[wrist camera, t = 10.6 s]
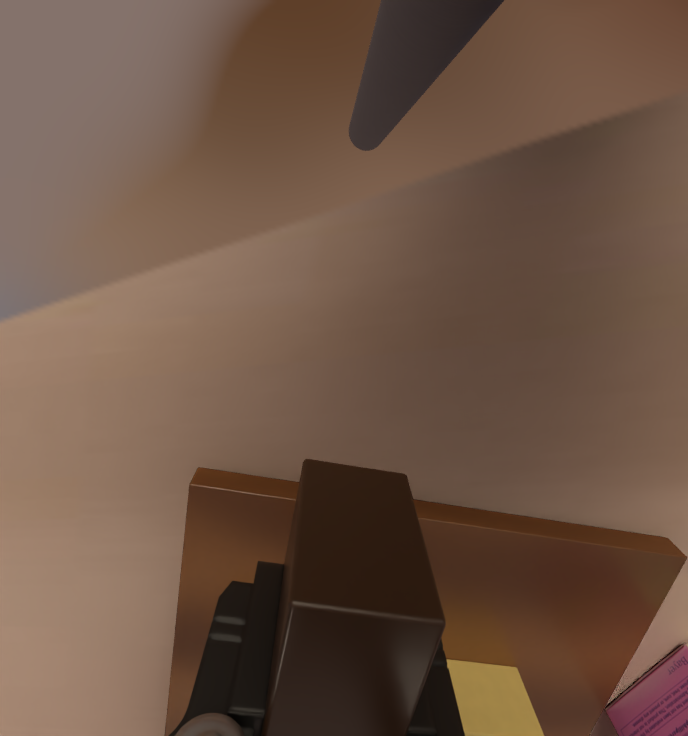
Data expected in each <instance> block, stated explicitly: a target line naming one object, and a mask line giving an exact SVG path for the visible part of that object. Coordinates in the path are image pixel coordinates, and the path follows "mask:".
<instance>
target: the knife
mask: <svg viewBox="0 0 688 736" xmlns="http://www.w3.org/2000/svg"><path fill="white" fill-rule="evenodd" d="M445 625H446V620H445V616H444V613H443V609H442V605H441V601H440V598H439V594H438V590H437V587H436V583H435V579H434V575H433V572H432V568H431V564H430V561H429V557H428V553H427V550H426V546H425V542H424V538H423V535H422V531H421V527H420V524H419V520H418V516H417V512H416V509H415V505H414V501H413V498H412V494H411V490H410V486H409V483H408V479H407V476H406V475H405V474H402V473H395V472H389V471H382V470H376V469H369V468H363V467H356V466H350V465H343V464H337V463H331V462H324V461H318V460H311V459H305V461H304V462H303V466H302V471H301V476H300V482H299V487H298V492H297V498H296V503H295V508H294V513H293V519H292V524H291V529H290V535H289V540H288V545H287V551H286V556H285V561H284V571H283V579H282V586H281V594H280V602H279V609H278V617H277V625H276V632H275V640H274V648H273V655H272V663H271V671H270V678H269V686H268V694H267V701H266V709H265V716H264V721H263V726H262V731H261V736H406V734H407V731H408V729H409V726H410V723H411V720H412V717H413V715H414V712H415V709H416V706H417V704H418V701H419V698H420V695H421V692H422V690H423V687H424V684H425V681H426V679H427V676H428V673H429V670H430V667H431V665H432V662H433V659H434V656H435V653H436V651H437V648H438V645H439V642H440V640H441V637H442V634H443V631H444V628H445Z"/></svg>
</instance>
